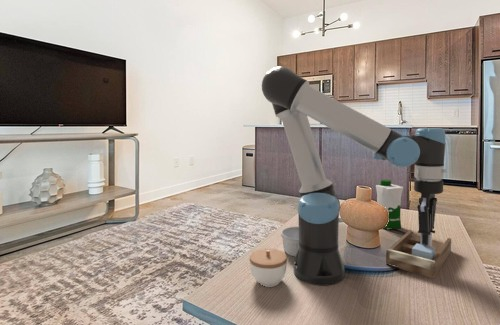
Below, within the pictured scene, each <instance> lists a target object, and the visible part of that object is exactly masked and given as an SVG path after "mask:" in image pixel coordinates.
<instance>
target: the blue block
mask: <svg viewBox="0 0 500 325" xmlns="http://www.w3.org/2000/svg"><path fill="white" fill-rule="evenodd" d="M412 255H414V256H418V257H422V258H426V259H430V260H433V258H434V257H435V247H431V246H426V245H422V244H418V243H417V244H416V245H415V246H414V247H413V248H412Z"/></svg>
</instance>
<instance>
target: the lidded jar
mask: <svg viewBox="0 0 500 325" xmlns="http://www.w3.org/2000/svg"><path fill="white" fill-rule="evenodd" d="M287 261H288V256H287V253H286V252H285V251H282V250H280V249H276V248H260V249H257V250H255V251H252V252H251V253H250V254H249V264H250V271H251V275H252V277H253V279H254V280H255V281H256V282H257V283H258V284H259V283H260V284H261V285H260V284H259V285H260V286H262V285H263V286H262V287H264V286H265V287H266V288H273V287H276V286H278V285H279V284H280V283H281V281H283V279H284V278H285V275H286V272H287V264H288V263H287Z"/></svg>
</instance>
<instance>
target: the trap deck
mask: <svg viewBox="0 0 500 325" xmlns="http://www.w3.org/2000/svg"><path fill="white" fill-rule="evenodd" d="M420 242H421V236H420V237H419V236H414V235H413V230H410V229H409V230H408V231H407V232H405V234H403V235H402V236H401V237H400V238H399V239H398V240H397V241H396V242H395V243H394V244H392V245H391V246H390V247H389V248H386V250H385V251H386V254H385V255H386V256H385V261H386V262H385V264H386V263H387V264H391V265H395V266H398V268H397V269H399V270H403V271H406V272H409V273H413V274H416V275H419V276H422V277H427V278H430V279H435V277H436V276H437V275H438V273H439V271H440V270H441V268H442V266H443V265H444V263H445V261H446V260H447V259H448V257H449V255H450V253H451V251H452V238H450V237H447V239H446V240H445V241H444V242H443V241H438V240H433V239H432V247H435V257H434V258H433V260H430V259H426V258H422V257H418V256H414V255H412V248H413V247H414V246H415V245H416V244H417V243H418V244H420Z"/></svg>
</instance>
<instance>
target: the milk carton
mask: <svg viewBox="0 0 500 325" xmlns="http://www.w3.org/2000/svg"><path fill="white" fill-rule="evenodd" d="M375 190H376V195H377V196H376V201H377V202H378V203H380V204H381V205H383V206H384V207H386V209H387V211H388V213H389V222H388V224H387V226H386V227H385V228H392V229H391V230H398V229H402V223H401V222H402V221H401V210H402V209H401V206H402V205H401V203H402V199H401V198H402V195H403V190H404V186H400V185H398V184H393V183H392V181H391V180H390V179H381V180H380V184H376V185H375ZM377 202H376V203H377Z"/></svg>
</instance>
